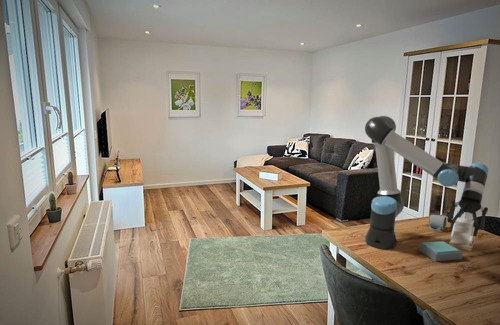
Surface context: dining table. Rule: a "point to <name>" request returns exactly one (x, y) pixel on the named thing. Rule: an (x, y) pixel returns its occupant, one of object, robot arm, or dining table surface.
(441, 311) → the dining table surface
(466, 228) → the pallet
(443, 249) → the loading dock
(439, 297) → the dining table surface
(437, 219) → the ceramic mug
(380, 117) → the robot arm
